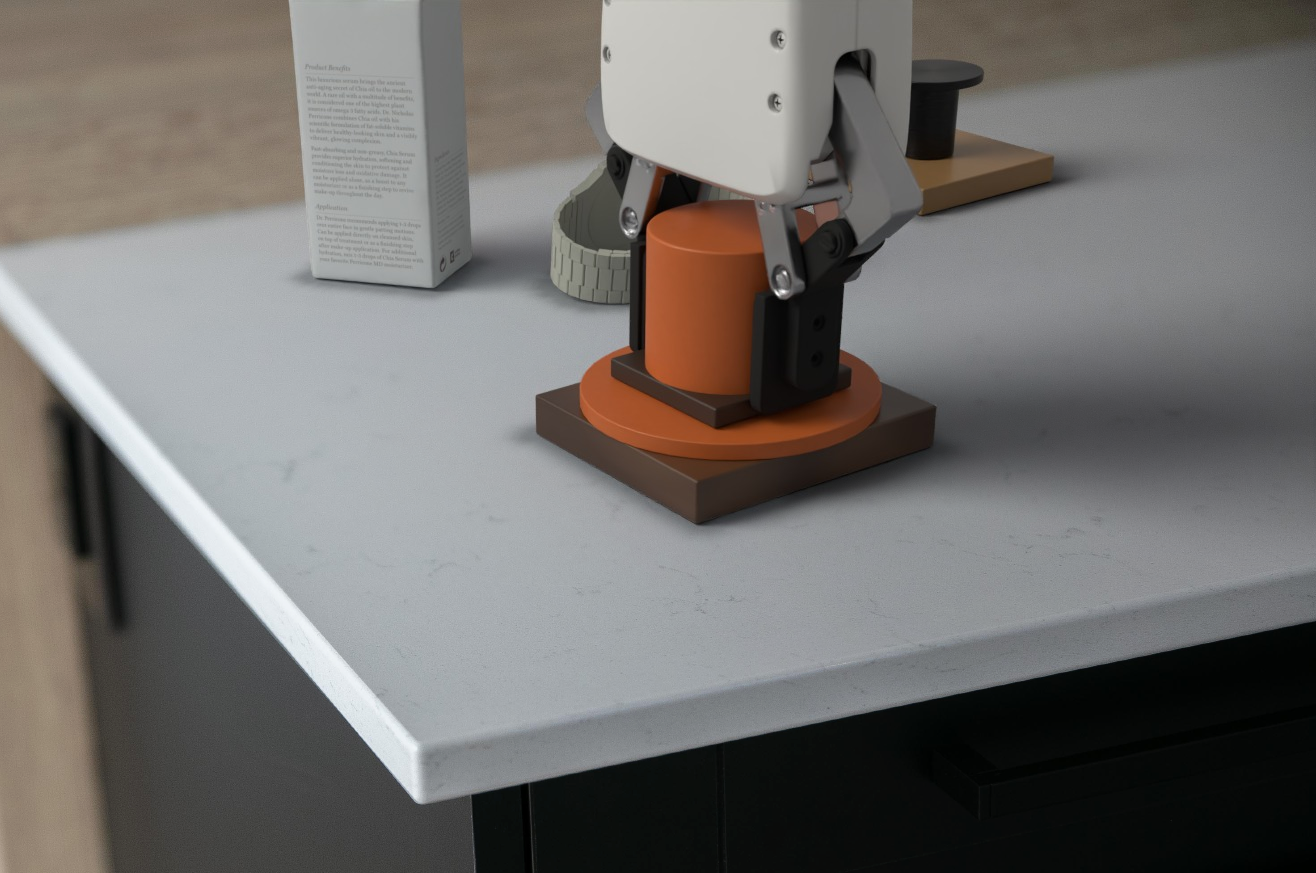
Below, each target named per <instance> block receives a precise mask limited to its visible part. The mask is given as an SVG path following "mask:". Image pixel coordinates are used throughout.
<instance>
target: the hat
mask: <svg viewBox="0 0 1316 873" xmlns="http://www.w3.org/2000/svg"><path fill="white" fill-rule="evenodd" d="M795 213H796V219H797V225H798V230H799V236H800V242H801V245H802V244H803V243H804V242H805V241H806V240H807V239H808V238H809V237H810V236H811V235H812V234H813V233H814V232H815V231H816V230H817V226H816V221H815V215H814V212H811V211H809V210H807V209H805V208H800V209H796V210H795ZM769 289H771V288H770V285H769V281H768V275H767V270H766V264H765V259H764V253H763V248H762V242H761V237H760V231H759V225H758V220H757V214H756V209H755V203H754V199H753V200H745V199H730V200H713V201H704V202H697V203H691V204H687V205H682V206H679V207H675V208H672V209H669V210H666V211H664V212H662V213H660V214H658V215H656V216H655V217H654V218H652V219H651V220H650V222H649V223H648V225H647V233H646V324H645V349H642V350H639V351H635V352H633V351H632V350H631V349H630V346H629V345H626V346H624V347H621V348H619V349H617V350H616V349H615V350H614V351H612V352H610V353H608V354H606V355H604V356H602V357H601V358H599V359H598V360H597V361H595V362H594V363H593V364H591V366H589V367H588V369H586V370H585V372H584V374H583V375H582V377H581V380H580V382H581V383H580V407H581V410H582V412H583V414H584V416H585V417H586V419H587V420H588V421H589V422H590V423H591V424H592V425H593V426H594V427H595V428H597V429H598V430H599V431H601V432H603V433H604V434H606V435H607V436H609V437H611V438H614V439H616V440H618V441H620V442H622V443H625V444H628V445H631V446H634V447H636V448H640V449H644V450H647V451H651V452H655V453H660V454H665V455H670V456H677V457H685V458H692V459H705V460H729V461H735V460H760V459H772V458H780V457H787V456H794V455H799V454H804V453H808V452H813V451H816V450H820V449H823V448H827V447H830V446H833V445H835V444H838V443H841V442H843V441H845V440H847V439H849V438H851V437H853V436H855V435H857V434H858V433H860V432H861V431H863V430H864V429H866V428H867V427H868V426H869V425H870V424H871V423H872V422H873V421H874V419H875V418H876V416H877V415H878V413H879V410H880V407H881V397H882V386H881V382H882V381H881V379H880V377H879V375H878V374H877V372H876V371H875V370H874V368H872V367H871V366H870V365H869V364H868V363H867V362H865V361H864V360H862V359H861V358H859V357H857V356H856V355H854V354H852V353H850V352H848V351H845V350H843V349H842V348H840V358H839V373H838V384H837V388H836V390H835V391H834V393H833V394H832V395H831V396H829V397H826V398H823V399H819V400H816V401H813V402H809V403H806V404H803V405H799V406H796V407H793V408H790V409H786V410H783V411H780V412H776V413H773V414H770V415H765V414H763V413H761V412H759V411H757V410H754V409H753V408H752V407H751V403H750V399H749V394H750V371H751V348H752V325H753V303H754V299H755V293H758V292H762V291H766V290H769Z"/></svg>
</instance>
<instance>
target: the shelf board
mask: <svg viewBox="0 0 1316 873" xmlns="http://www.w3.org/2000/svg"><path fill="white" fill-rule="evenodd" d="M880 382H881V386H882V397H881V407H880V410H879V413H878V415H877V416H876V418H875V419H874V421H873V422H872V423H871V424H870V425H869V426H868V427H867V428H866V429H864V430H863V431H861V432H860V433H858V434H857V435H855V436H853V437H851V438H849V439H847V440H845V441H843V442H841V443H838V444H835V445H833V446H830V447H827V448H823V449H820V450H816V451H813V452H808V453H804V454H799V455H794V456H787V457H780V458H772V459H760V460H735V461H729V460H705V459H692V458H685V457H677V456H670V455H665V454H660V453H655V452H651V451H647V450H644V449H640V448H636V447H634V446H631V445H628V444H625V443H622V442H620V441H618V440H616V439H614V438H611V437H609V436H607V435H606V434H604V433H603V432H601V431H599V430H598V429H597V428H595V427H594V426H593V425H592V424H591V423H590V422H589V421H588V420H587V419H586V417H585V416H584V414H583V412H582V410H581V407H580V383H581V381H580V382H576V383H572V384H569V385H566V386H562V387H558V388H555V389H552V390H548V391H544V392H541V393H537V394H536V395H535V433H536V435H538V436H540V437H542V438H543V439H544V440H547V441H548V442H551V443H552V444H554V445H555V446H557V447H559V448H561V449H562V450H565V451H566V452H568V453H570V454H571V455H573V456H575V457H577V458H578V459H581V460H582V461H584V462H586V463H587V464H589V465H590V466H593V467H594V468H596V469H598V470H599V471H601V472H603V473H605V474H607V475H609V476H611V477H612V478H614V479H615V480H617V481H619V482H621V483H623V484H624V485H626V486H628V487H630V488H631V489H633V490H634V491H637V492H638V493H641V494H642V495H644V496H646V497H647V498H649V499H651V500H653V501H655V502H656V503H658V504H660V505H661V506H663V507H665V508H667V509H669V510H670V511H672V512H674V513H675V514H678V515H679V516H681V517H683V518H684V519H686V520H688V521H690V522H691V523H693V524H700V523H703V522H707V521H710V520H713V519H716V518H718V517H719V518H720V517H722V516H725V515H729V514H731V513H734V512H737V511H740V510H743V509H746V508H749V507H752V506H755V505H758V504H761V503H764V502H767V501H770V500H774V499H776V498H779V497H782V496H785V495H789V494H791V493H794V492H797V491H800V490H803V489H806V488H810V487H813V486H817V485H819V484H822V483H825V482H827V481H830V480H834V479H836V478H841V477H843V476H846V475H849V474H852V473H855V472H858V471H861V470H865V469H867V468H870V467H873V466H877V465H880V464H882V463H885V462H889V461H891V460H893V459H897V458H900V457H903V456H906V455H909V454H912V453H915V452H918V451H921V450H924V449H928V448H930V447H933V446H934V443H935V431H936V420H937V410H938V406H937V405H936V404H935V403H932V402H930V401H927V400H926V399H923V398H920V397H918V396H915V395H913V394H911V393H908V392H907V391H904V390H901V389H899V388H897V387H895V386H892V385H889V384H887V383H885V382H883V381H880Z"/></svg>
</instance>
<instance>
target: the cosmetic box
mask: <svg viewBox="0 0 1316 873" xmlns="http://www.w3.org/2000/svg"><path fill="white" fill-rule="evenodd" d="M288 6H289V16H290V17H289V18H290V27H291V28H290V29H291V38H292V52H293V60H294V74H295V87H296V100H297V110H298V123H299V124H298V125H299V135H300V145H301V146H300V148H301V158H302V159H301V160H302V174H303V184H304V185H303V186H304V199H305V212H306V224H307V233H308V234H307V235H308V247H309V262H310V270H311V271H310V272H311V275H312V277H313V278H316V279H325V280H326V279H327V280H336V281H337V280H338V281H349V282H360V283H372V284H383V285H394V286H403V287H404V286H405V287H416V288H426V289H434V288H436V287H438V286H439V285H441V284H442V283H443V282H444V281H446V280H447V279H448V278H449V277H450V276H452V275H453V274H454V273H455V272H457V271H458V270H459V269H460V268H462V267H463V266H465V265H466V264H467V263H468V262H470V261H471V259H472V255H473V249H472V231H471V230H472V228H471V203H470V202H471V201H470V200H471V199H470V180H469V159H468V157H469V156H468V155H469V154H468V138H467V137H468V136H467V135H468V134H467V133H468V132H467V114H466V111H467V109H466V91H465V90H466V89H465V67H464V66H465V64H464V43H463V40H464V39H463V24H462V22H463V20H462V0H288Z"/></svg>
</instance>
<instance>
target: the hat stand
mask: <svg viewBox="0 0 1316 873" xmlns="http://www.w3.org/2000/svg"><path fill="white" fill-rule="evenodd" d="M984 77H985V71H984V68H983V67H981V66H980V65H977V64H975V63H971V62H969V61H968V62H967V61H962V60H955V59H938V58H937V59H936V58H931V59H929V58H928V59H927V58H926V59H914V60H913V59H912V72H911V95H910V114H909V128H908V139H907V147H906V153H905V158H906V160H907V162H908V164H909V166H910V168H911V170H912V172H913V174H914V176H915V179H916V181H917V183H918V185H919V187H920V189H921V192H922V195H923V206H922V209H921V211H920V212H919V213H918V214H917V215H918V216H924V215H928V214H931V213H936V212H939V211H943V210H947V209H951V208H954V207H958V206H962V205H965V204H969V203H972V202H973V203H974V202H977V201H980V200H984V199H988V198H991V197H995V196H998V195H1003V194H1006V193H1010V192H1014V191H1019V190H1021V189H1025V188H1030V187H1032V186H1037V185H1040V184H1044V183H1048V182H1051V181H1052V179H1053V174H1054V173H1053V172H1054V164H1055V155H1053V154H1049V153H1046V152H1044V151H1043V152H1042V151H1038V150H1035V149H1031V148H1027V147H1024V146H1020V145H1016V144H1013V143H1009V142H1005V141H1002V140H999V139H998V140H997V139H994V138H991V137H988V136H984V135H979V134H976V133H973V132H968V131H966V130H961V129H957V119H958V108H959V96H960V90H966V89H970V88H973V87H976V86H979V85H980V84H981V83H982V82H984ZM808 180H811V181H812V176H811V170H810V172H809V179H808ZM848 184H849V190H850V193H851V186H850V183H849V180H848Z"/></svg>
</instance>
